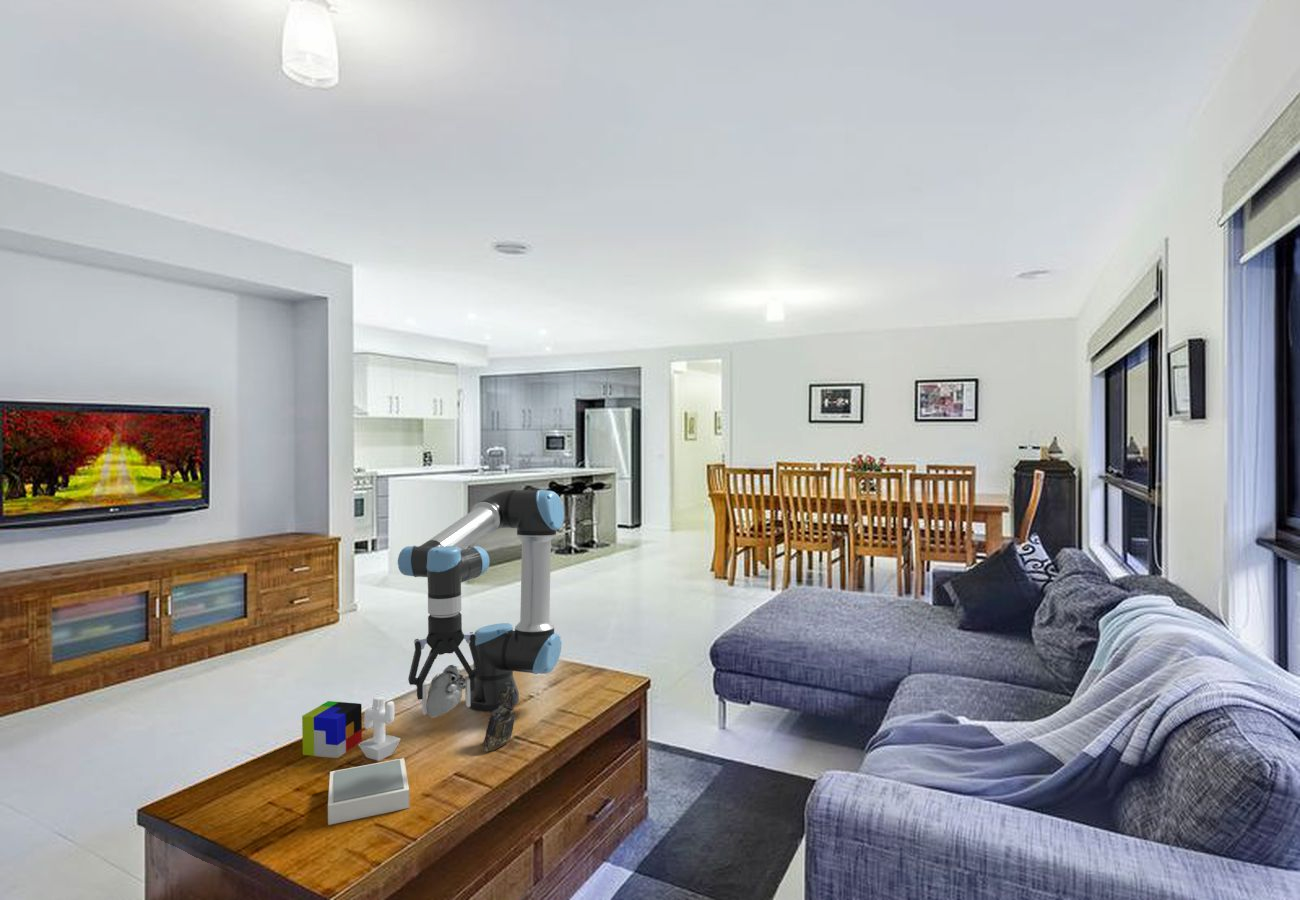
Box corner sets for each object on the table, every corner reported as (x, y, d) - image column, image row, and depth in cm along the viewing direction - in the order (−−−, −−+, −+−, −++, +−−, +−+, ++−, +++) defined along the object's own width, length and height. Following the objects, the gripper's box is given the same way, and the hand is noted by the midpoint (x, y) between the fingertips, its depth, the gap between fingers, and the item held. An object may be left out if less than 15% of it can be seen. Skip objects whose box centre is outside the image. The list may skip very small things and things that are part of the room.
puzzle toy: (337, 758, 172) (337, 719, 171) (302, 754, 174) (302, 716, 173) (362, 740, 181) (361, 703, 181) (328, 737, 183) (328, 701, 183)
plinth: (404, 774, 163) (404, 756, 163) (409, 807, 148) (409, 788, 148) (330, 788, 156) (330, 770, 156) (328, 825, 142) (327, 804, 142)
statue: (475, 751, 175) (475, 693, 174) (504, 733, 185) (504, 678, 185) (493, 755, 172) (492, 696, 172) (521, 736, 183) (521, 681, 183)
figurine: (378, 745, 178) (377, 689, 178) (404, 753, 174) (403, 695, 173) (355, 757, 172) (354, 698, 171) (381, 765, 167) (380, 705, 167)
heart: (446, 699, 167) (439, 654, 165) (476, 706, 162) (469, 659, 160) (415, 722, 158) (407, 674, 156) (446, 729, 154) (438, 680, 152)
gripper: (489, 604, 167) (490, 695, 168) (394, 614, 158) (395, 710, 159) (495, 611, 160) (496, 706, 161) (395, 623, 151) (397, 723, 152)
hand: (446, 708), depth 160 cm, fingers closed on heart, 9 cm apart
